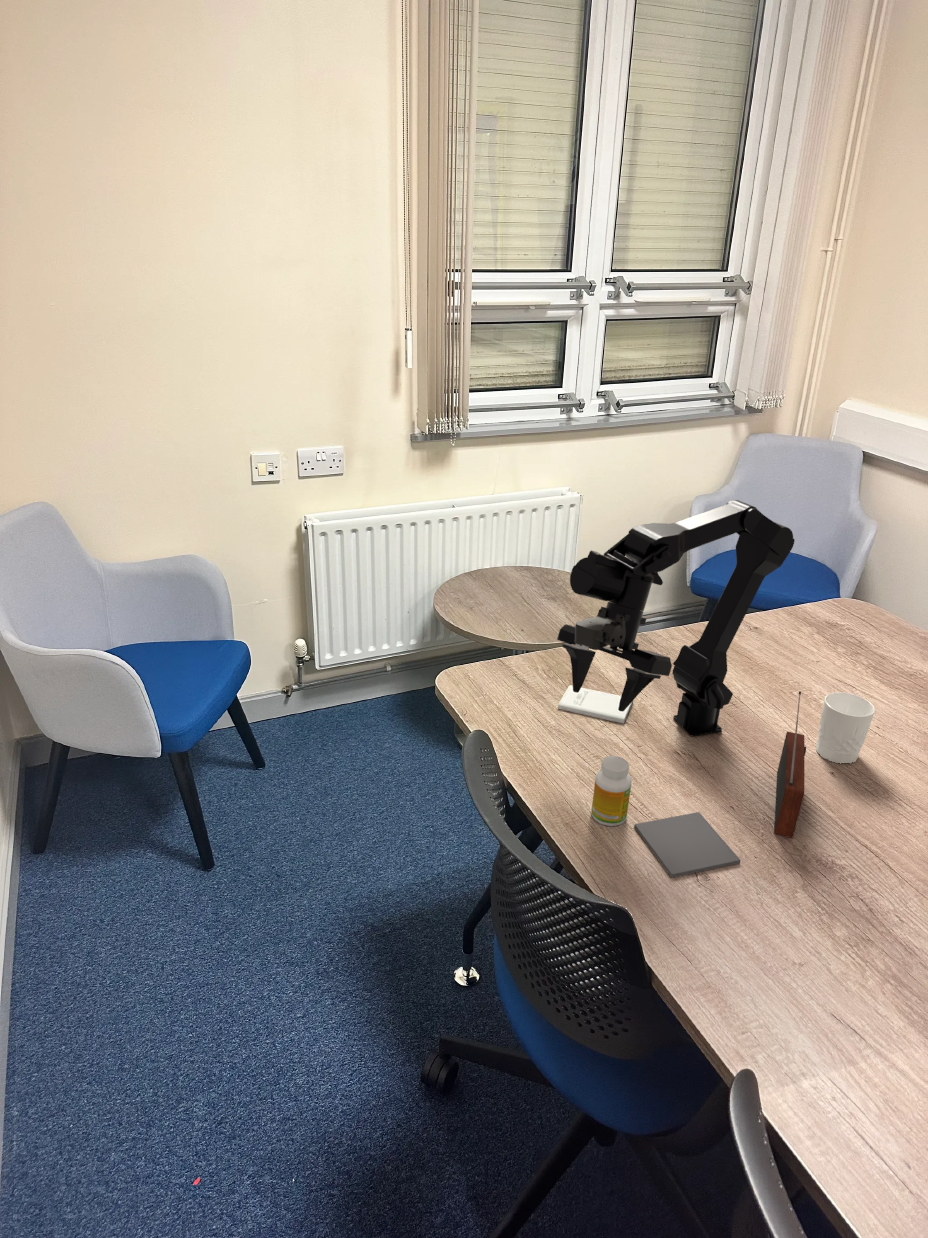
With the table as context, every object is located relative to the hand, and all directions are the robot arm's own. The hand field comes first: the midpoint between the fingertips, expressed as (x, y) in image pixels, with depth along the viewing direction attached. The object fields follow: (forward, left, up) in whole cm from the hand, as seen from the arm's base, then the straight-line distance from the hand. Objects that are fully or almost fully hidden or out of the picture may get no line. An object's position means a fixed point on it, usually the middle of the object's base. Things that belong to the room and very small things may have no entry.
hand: (597, 701), depth 132 cm
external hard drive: (-10, -19, -14) cm, 26 cm away
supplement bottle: (+2, +11, -14) cm, 18 cm away
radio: (-27, +15, -14) cm, 34 cm away
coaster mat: (-6, +20, -13) cm, 25 cm away
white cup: (-44, +6, -14) cm, 46 cm away
